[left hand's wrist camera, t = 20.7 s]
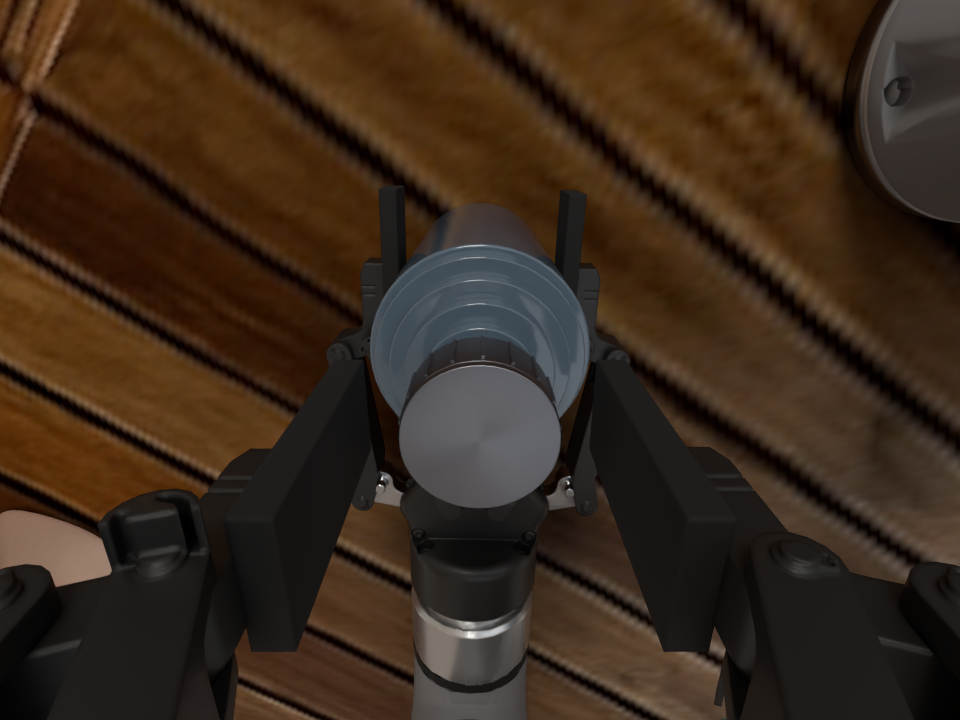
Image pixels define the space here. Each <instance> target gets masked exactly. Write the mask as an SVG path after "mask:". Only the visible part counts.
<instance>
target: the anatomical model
mask: <svg viewBox="0 0 960 720" xmlns="http://www.w3.org/2000/svg"><path fill="white" fill-rule="evenodd" d="M23 564H32V565H42V566H43V567H44V568H46V569H47V570H48V571H50V573H51V575H52V578H53V581H54V583H55V586H56V587H58V586H63V585H67V584H72V583H76V582H81V581H85V580H90V579H94V578H99V577H103V576H107V575H110V573H111V571H112V569H111V566H110V563H109V560H108V557H107V554H106V551H105V548H104V545H103V542H102V539H101V538H100V537H98V536H96V535H94V534H93V533H91V532H89V531H86V530H84V529H82V528H80V527H78V526H75V525H73V524H70V523H67V522H64V521H61V520H58V519H55V518H52V517H48V516H45V515H41V514H37V513H32V512H27V511H20V510H11V511H6V512H3V513H1V514H0V569H2V568H5V567H11V566H17V565H23Z"/></svg>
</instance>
